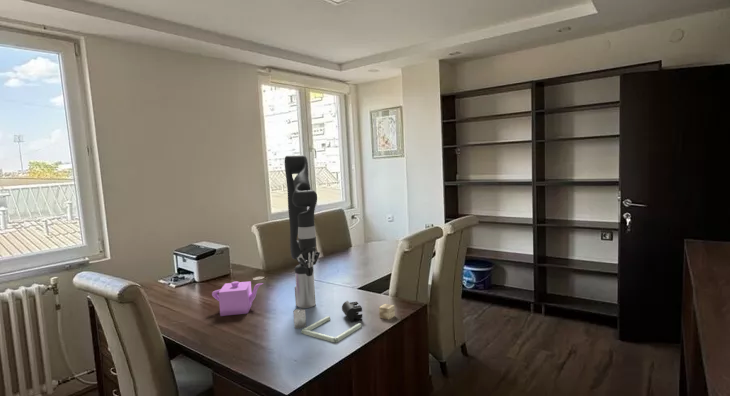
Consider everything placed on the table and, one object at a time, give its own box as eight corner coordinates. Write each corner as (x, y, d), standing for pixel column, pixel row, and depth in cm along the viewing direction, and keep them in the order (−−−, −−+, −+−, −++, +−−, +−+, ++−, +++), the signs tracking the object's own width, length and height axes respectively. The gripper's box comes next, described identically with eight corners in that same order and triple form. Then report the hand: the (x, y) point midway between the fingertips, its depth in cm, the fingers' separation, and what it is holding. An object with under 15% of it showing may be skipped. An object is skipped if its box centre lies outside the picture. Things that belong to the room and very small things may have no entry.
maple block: (379, 317, 180) (379, 307, 179) (385, 314, 184) (384, 303, 183) (389, 319, 177) (388, 308, 176) (394, 316, 181) (394, 305, 181)
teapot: (263, 312, 194) (261, 284, 193) (209, 317, 191) (207, 288, 190) (266, 301, 209) (264, 275, 208) (216, 306, 206) (214, 279, 205)
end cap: (342, 315, 184) (341, 301, 184) (356, 313, 186) (356, 299, 186) (347, 323, 175) (346, 308, 174) (362, 321, 177) (362, 306, 176)
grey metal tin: (292, 327, 174) (291, 311, 173) (300, 323, 178) (299, 308, 177) (300, 329, 171) (299, 313, 170) (308, 325, 175) (307, 309, 174)
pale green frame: (301, 333, 167) (301, 329, 167) (328, 319, 181) (328, 316, 181) (335, 342, 156) (335, 339, 156) (361, 327, 170) (361, 323, 170)
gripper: (311, 233, 180) (313, 271, 181) (289, 238, 169) (292, 278, 171) (323, 234, 175) (326, 272, 177) (302, 239, 165) (305, 280, 166)
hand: (309, 275), depth 174 cm, fingers closed
